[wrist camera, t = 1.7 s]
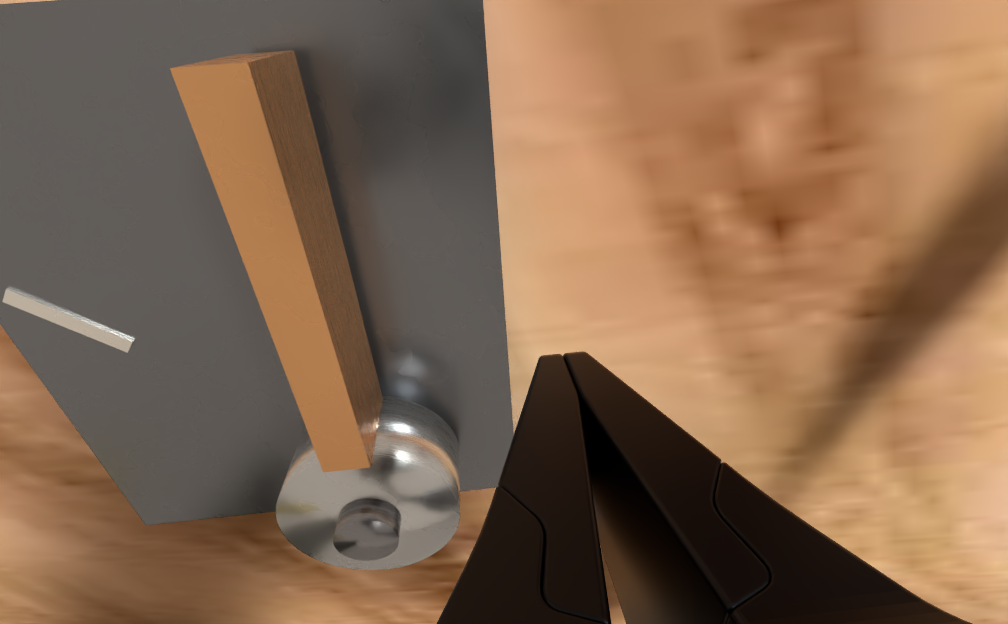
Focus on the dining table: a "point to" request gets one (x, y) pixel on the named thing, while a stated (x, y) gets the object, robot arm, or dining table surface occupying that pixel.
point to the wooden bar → (319, 328)
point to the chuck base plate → (211, 245)
